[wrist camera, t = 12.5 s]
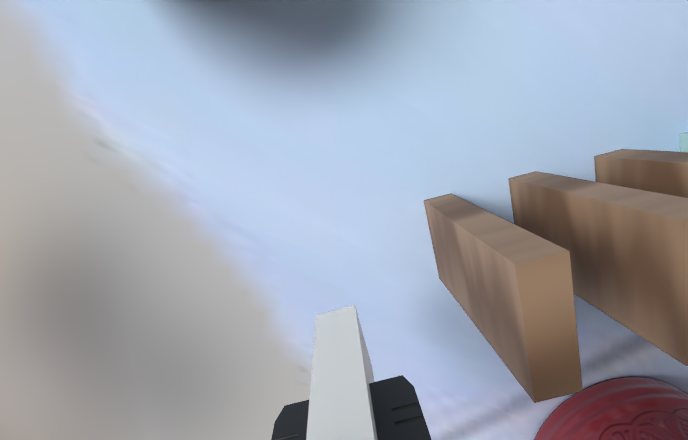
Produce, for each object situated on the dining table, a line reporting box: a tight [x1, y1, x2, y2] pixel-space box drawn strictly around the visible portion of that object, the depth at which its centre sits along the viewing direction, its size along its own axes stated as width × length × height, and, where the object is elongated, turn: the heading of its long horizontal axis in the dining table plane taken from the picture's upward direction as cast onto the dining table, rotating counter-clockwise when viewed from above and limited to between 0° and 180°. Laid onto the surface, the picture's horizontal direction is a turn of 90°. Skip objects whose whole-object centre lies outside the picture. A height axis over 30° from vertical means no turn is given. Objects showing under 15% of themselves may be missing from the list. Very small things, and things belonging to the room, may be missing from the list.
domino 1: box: [424, 194, 583, 403], centre depth 15 cm, size 5×2×10 cm, turn 14°
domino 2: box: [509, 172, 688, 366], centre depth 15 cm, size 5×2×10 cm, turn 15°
